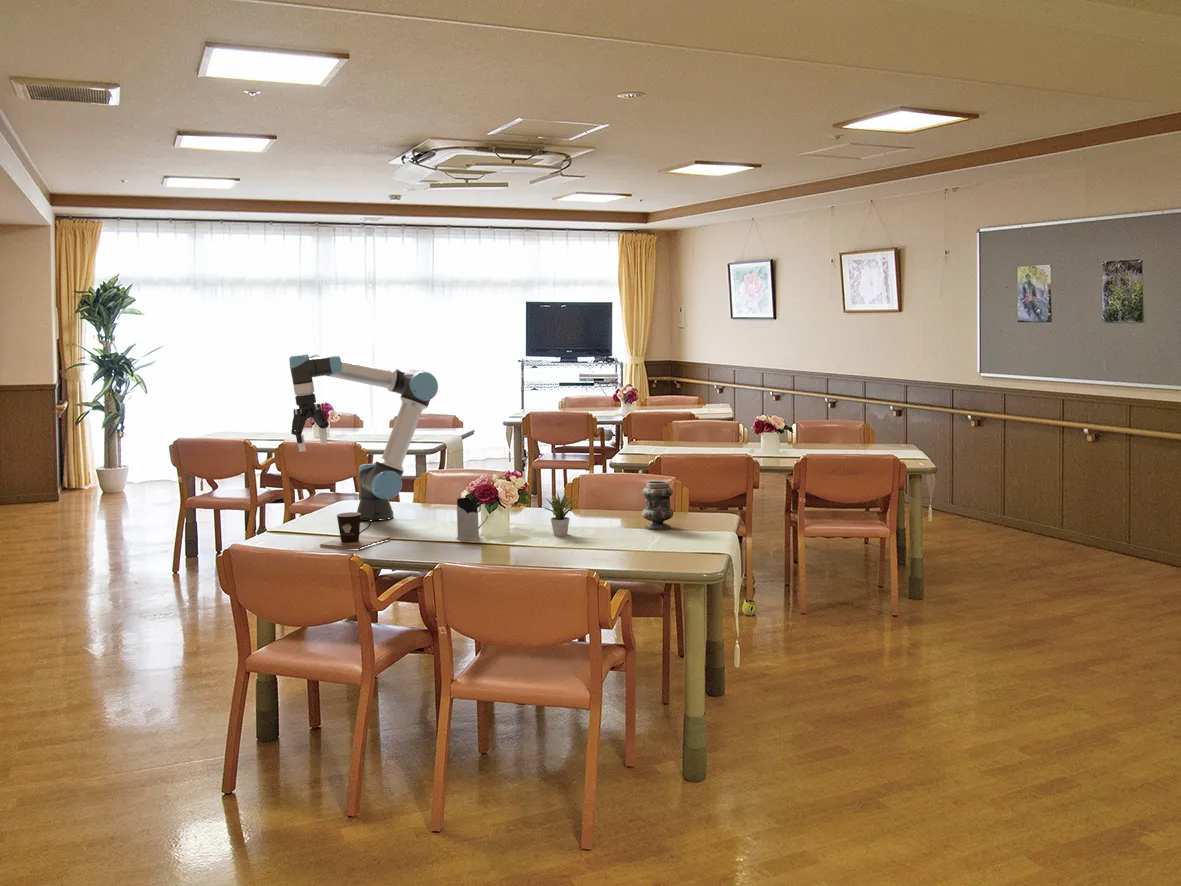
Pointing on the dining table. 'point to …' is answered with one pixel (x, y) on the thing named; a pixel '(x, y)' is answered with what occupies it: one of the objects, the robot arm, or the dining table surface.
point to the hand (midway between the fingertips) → (313, 448)
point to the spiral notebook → (363, 541)
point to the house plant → (560, 515)
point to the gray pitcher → (468, 519)
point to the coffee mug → (350, 526)
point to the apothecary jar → (657, 504)
